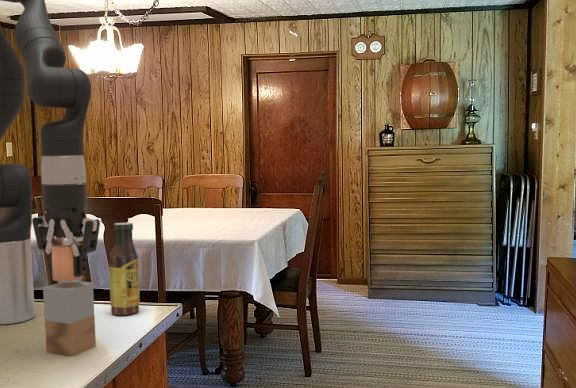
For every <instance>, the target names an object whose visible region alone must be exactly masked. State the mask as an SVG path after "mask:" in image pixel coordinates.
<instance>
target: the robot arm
mask: <svg viewBox="0 0 576 388" xmlns="http://www.w3.org/2000/svg"><path fill="white" fill-rule="evenodd" d="M0 1H1V2H2V1H3V2H9V3H19V4H21V5H22V7H23V8H24V9H23V11H22V13H21V15H20V16H19V17H18V19H17V21H16V24H15V28H14V36H15V42H16V44H17V47H18V49H19V52H20V53H21V56H22V58H23V60H24V62H25V68H26V69H25V68H24V66H23V63H22V61H21V60H20V58H19V55H18V53H17V52H16V51H15V49H14V48H13V45H12V44H11V42H10V41H9V39H8V38H7V36H6V35H5V32H4V31H3V28H2V26H1V25H0V142H1V140H2V139H3V137H4V135H5V133H6V132H7V131H8V129H9V128H10V126H11V125H12V123H13V122H14V121H15V119H16V117H17V116H18V115H19V113H20V111H21V109H22V108H23V106H24V103H25V77H26V89H27V90H26V91H27V95H28V97H29V99H30V100H31V101H32V103H34V104H35V105H37V106H38V107H40V108H50V109H51V108H52V109H53V108H54V109H56V108H57V109H65V112H64V114H63V117H62V118H61V119H59V120H54V121H50V122H46V123H43V124H42V125H41V127H40V147H41V149H40V150H41V151H40V152H41V160H40V161H41V162H40V181H41V182H40V185H41V205H42V208H43V209H45V213H44V215H42V216H37V217H36V216H35V217H32V216H33V215H32V212H33V210H32V209H33V208H32V207H33V198H32V197H33V190H32V189H33V188H32V187H33V186H32V177H31V174H30V173H31V172H30V170H29V169H28V168H27V167H26V165H24V164H22V163H0V209H5V208H7V212H6V213H5V214H4V215H3V216H2V217H1V218H0V325H9V324H11V325H13V324H17V323H21V322H27V321H29V320H32V319H33V318H34V317H35V295H34V292H35V291H34V274H33V255H32V232H31V231H32V227H33V231H34V236H35V240H36V244H37V249H38V250H40V251H41V250H42V251H45V253H46V254H47V263H48V264H47V265H48V271H49V274H51V275H52V250H51V246H53V245H55V244H62V243H63V242H64V241H65V239H66V240H67V241H66V242H67V243H68V244H69V245H71V247H72V250H73V253H74V255H75V256H74V257H73V262H74V276H75V277H81V276H83V277H84V276H85V275H86V274H87V272H88V261H87V257H88V256H87V255H88V254H91V253H93V252H96V251H97V247H98V239H99V233H100V228H101V227H100V226H101V221H100V219H98V218H94V219H91V218H90V217H89V218H88V217H87V215H86V212H85V209H86V207H87V205H88V197H87V172H86V171H87V170H86V169H87V168H86V162H85V158H84V157H85V156H84V135H83V134H84V128H85V122H86V118H87V113H88V109H89V105H90V102H91V98H92V84H91V83H92V82H91V81H90V78H89V76H88V75H87V73H86V72H85V71H84V70H82V69H79V68H71V67H70V68H69V67H64V66H65V64H66V60H67V56H66V52H65V50H64V48H63V45H62V44H61V41H60V39H59V38H58V36H57V34H56V32H55V29H54V28H53V25H52V23H51V22H52V21H51V20H50V17H49V14H48V10H47V6H46V2H45V1H46V0H0ZM25 71H26V72H25ZM25 74H26V76H25ZM78 243H79V245H80V248H79V245H78Z"/></svg>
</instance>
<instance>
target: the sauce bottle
mask: <svg viewBox="0 0 576 388" xmlns="http://www.w3.org/2000/svg"><path fill="white" fill-rule="evenodd" d="M133 226H134V225H133V223H132V222H115V223H114V224H113V231H114V243H115V244H114V246H113V248H112V250H111V252H110V254H109V293H110V294H109V297H110V301H109V302H110V308H111V309H110V311H111V312H110V313H112V315H114V316H127V315H133V314H136V313H138V312H139V309H140V302H141V301H140V266H139V265H140V260H139V255H138V253H137V250H136V247H135V245H134V240H133V230H134V227H133Z"/></svg>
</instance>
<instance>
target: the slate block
mask: <svg viewBox="0 0 576 388" xmlns="http://www.w3.org/2000/svg"><path fill="white" fill-rule="evenodd" d="M42 293H43V308H44V309H43V312H44V313H43V314H44V321H45V320H46V321H53V322H60V323H67V324H72V323H75V322H77V321H80V320H82V319H85V318H87V317H90V316H92V315H95V301H94V298H95V297H94V282H88V281H79V280H73V281H59V282H57V283H54V284H50V285H47V286H44V287H42Z"/></svg>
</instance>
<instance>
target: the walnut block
mask: <svg viewBox="0 0 576 388" xmlns="http://www.w3.org/2000/svg"><path fill="white" fill-rule="evenodd" d="M95 316H96V314H94V315H92V316H90V317H87V318H85V319H82V320H80V321H77V322H75V323H72V324H67V323H60V322H53V321H46V320H45V319H44V324H45V325H44V328H45V329H44V330H45V332H44V333H45V347H46V348H45V349H46V353H47V354H52V355H59V356H64V357H69V356H71V357H70V358H73V357H72V356H74V357H76V356H78V355H80V354H82V353H84V352H87V351H89V350H91V349H93V348H95V347H96V346H97V343H96V340H97V339H96V323H95V322H96V321H95V320H96V319H95V318H96V317H95ZM77 354H78V355H77ZM75 355H76V356H75Z"/></svg>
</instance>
